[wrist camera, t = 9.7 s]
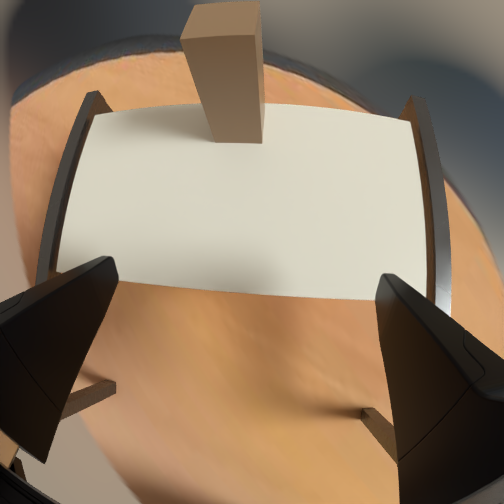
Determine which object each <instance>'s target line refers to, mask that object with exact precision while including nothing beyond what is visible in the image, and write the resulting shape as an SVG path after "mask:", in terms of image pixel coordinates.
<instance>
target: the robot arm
mask: <svg viewBox="0 0 504 504" xmlns="http://www.w3.org/2000/svg"><path fill="white" fill-rule="evenodd" d="M118 281H119V275H118V271H117V268H116V264H115V261H114V258H113V257H112V256H100V257H98V258H95V259H93V260H91V261H89V262H86V263H84V264H82V265H80V266H77V267H75V268H73V269H71V270H68V271H66V272H64V273H62V274H60V275H57V276H55V277H53V278H51V279H49V280H47V281H45V282H42V283H40V284H38V285H36V286H34V287H32V288H30V289H28V290H26V291H25V292H22V293H20V294H18V295H16V296H13V297H12V298H9V299H7V300H5V301H3V302H1V303H0V504H60V503H59V502H57V501H55V500H53V499H52V498H50V497H49V496H47V495H45V494H44V493H42V492H41V491H39V490H38V489H36V488H35V487H33V486H32V485H30V484H29V483H28V482H27V481H26V477H25V474H24V470H23V466H22V462H21V460H20V459H18V458H17V457H16V454H17V452H18V450H19V448H21V449H22V450H23V451H25V452H26V453H28V454H29V455H31V456H32V457H34V458H35V459H37V460H38V461H40V462H42V463H43V464H45V462H46V460H47V457H48V453H49V450H50V447H51V444H52V441H53V438H54V435H55V433H56V430H57V427H58V424H59V421H60V418H61V416H62V413H63V410H64V407H65V405H66V402H67V400H68V397H69V395H70V392H71V390H72V387H73V385H74V382H75V380H76V378H77V375H78V373H79V371H80V368H81V366H82V364H83V361H84V359H85V357H86V355H87V353H88V350H89V348H90V346H91V344H92V342H93V340H94V338H95V335H96V333H97V331H98V329H99V327H100V325H101V323H102V321H103V319H104V317H105V314H106V312H107V310H108V307H109V304H110V302H111V299H112V297H113V294H114V292H115V289H116V287H117V284H118ZM375 305H376V313H377V323H378V333H379V341H380V347H381V352H382V357H383V362H384V367H385V372H386V378H387V384H388V390H389V396H390V402H391V409H392V416H393V424H394V432H395V441H396V451H397V461H398V477H399V498H400V504H504V359H502V358H501V357H500V356H498V355H497V354H496V353H494V352H493V351H492V350H490V349H489V348H488V347H487V346H485V345H484V344H483V343H482V342H480V341H479V340H478V339H477V338H475V337H474V336H473V335H472V334H471V333H469V332H468V331H467V330H465V329H464V328H463V327H462V326H461V325H460V324H458V323H457V322H456V321H455V320H454V319H452V318H451V317H450V316H449V315H447V314H446V313H445V312H444V311H442V310H441V309H440V308H439V307H437V306H436V305H435V304H433V303H432V302H431V301H430V300H428V299H427V298H426V297H424V296H423V295H422V294H421V293H419V292H418V291H417V290H415V289H414V288H413V287H411V286H410V285H409V284H407V283H406V282H405V281H403V280H402V279H401V278H399V277H398V276H397V275H395V274H393V273H383V274H382V275H381V277H380V280H379V284H378V287H377V291H376V295H375Z"/></svg>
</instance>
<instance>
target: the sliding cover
mask: <svg viewBox="0 0 504 504" xmlns="http://www.w3.org/2000/svg"><path fill="white" fill-rule="evenodd" d="M180 42H181V45H182V48H183V51H184V54H185V56H186V59H187V62H188V65H189V68H190V71H191V74H192V77H193V80H194V83H195V86H196V89H197V92H198V95H199V97H200V100H201V104H182V105H169V106H157V107H148V108H139V109H131V110H124V111H117V112H111V113H105V114H99V115H95V117H94V119H93V122H92V125H91V127H90V130H89V133H88V136H87V139H86V142H85V145H84V148H83V151H82V154H81V157H80V161H79V164H78V167H77V171H76V174H75V178H74V182H73V186H72V189H71V193H70V198H69V202H68V206H67V211H66V215H65V220H64V225H63V230H62V236H61V242H60V248H59V254H58V261H57V269H56V272H60V273H64V272H66V271H68V270H71V269H73V268H75V267H77V266H80V265H82V264H84V263H86V262H89V261H91V260H93V259H95V258H98V257H100V256H112V257H113V258H114V261H115V264H116V268H117V271H118V275H119V281H125V282H134V283H142V284H151V285H160V286H169V287H179V288H189V289H199V290H210V291H221V292H233V293H245V294H258V295H272V296H288V297H304V298H323V299H345V300H372V301H375V295H376V291H377V287H378V284H379V280H380V277H381V275H382V274H383V273H393V274H395V275H397V276H398V277H399V278H401V279H402V280H403V281H405V282H406V283H407V284H409V285H410V286H411V287H413V288H414V289H415V290H417V291H418V292H419V293H421V294H422V295H423V296H424V297H426V280H427V267H426V235H425V220H424V208H423V198H422V189H421V181H420V173H419V167H418V160H417V154H416V148H415V143H414V138H413V133H412V128H411V123H410V122H409V121H404V120H399V119H394V118H389V117H384V116H379V115H373V114H367V113H361V112H355V111H348V110H340V109H332V108H323V107H314V106H302V105H289V104H270V103H265V93H264V72H263V52H262V36H261V17H260V2H259V1H243V2H223V3H211V4H200V5H195V6H194V8H193V10H192V12H191V15H190V17H189V19H188V21H187V23H186V26H185V28H184V30H183V33H182V35H181V38H180Z"/></svg>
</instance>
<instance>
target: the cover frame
mask: <svg viewBox="0 0 504 504" xmlns="http://www.w3.org/2000/svg"><path fill="white" fill-rule="evenodd" d="M111 112H113V111H112V109H111V108H110V107H109V106H108V104H107V103H106V102H105V99H104V97H103V96H102V95H101V93H100V92H99V91H98V90H97V91H93V92H88V93H87V94H86V96H85V98H84V100H83V103H82V105H81V107H80V110H79V112H78V115H77V117H76V120H75V122H74V125H73V127H72V130H71V133H70V135H69V138H68V141H67V144H66V147H65V150H64V153H63V156H62V159H61V162H60V165H59V168H58V172H57V175H56V179H55V182H54V186H53V190H52V193H51V197H50V202H49V206H48V210H47V215H46V219H45V224H44V229H43V235H42V240H41V246H40V252H39V259H38V267H37V275H36V284H35V286H36V285H38V284H40V283H42V282H45V281H47V280H49V279H51V278H53V277H55V276H57V275H60V274H61V273H60V272H56V269H57V261H58V254H59V248H60V242H61V236H62V230H63V225H64V220H65V215H66V211H67V206H68V202H69V198H70V193H71V189H72V186H73V182H74V178H75V174H76V171H77V167H78V164H79V161H80V157H81V154H82V151H83V148H84V145H85V142H86V139H87V136H88V133H89V130H90V127H91V125H92V122H93V119H94V117H95V115H99V114H105V113H111ZM398 119H399V120H404V121H409V122H410V123H411V128H412V133H413V138H414V143H415V148H416V154H417V160H418V167H419V173H420V181H421V189H422V198H423V208H424V220H425V235H426V267H427V280H426V298H427V299H428V300H430V301H431V302H432V303H433V304H435V305H436V306H437V307H439V308H440V309H441V310H442V311H444V312H445V313H446V314H447V315H449V316H450V313H451V247H450V231H449V219H448V210H447V201H446V193H445V186H444V180H443V174H442V168H441V163H440V158H439V152H438V148H437V143H436V139H435V134H434V130H433V126H432V122H431V119H430V115H429V111H428V107H427V104H426V101H425V99H424V98H421V97H417V96H413V95H411V96H410V98H409V100H408V101H407V103H406V105H405V108H404V110H403V111H402V113H401V115H400V116H399V118H398ZM115 393H116V382H112V381H109V380H104V381H102V382H99V383H97V384H94V385H92V386H89V387H86V388H84V389H81V390H79V391H76V392H73V393H70V395H69V397H68V400H67V402H66V405H65V407H64V410H63V413H62V416H61V418H60V420H62V419H64V418H66V417H69V416H71V415H73V414H75V413H77V412H79V411H81V410H83V409H85V408H87V407H89V406H91V405H94V404H96V403H98V402H100V401H102V400H104V399H106V398H108V397H110V396H112V395H113V394H115ZM361 421H362V422H363V423H364V425H365V426H366V427H367V428H368V429H369V431H370V432H371V433H372V434H373V436H374V437H375V438H376V439H377V441H378V442H379V443H380V444H381V445H382V447H383V448H384V449H385V450H386V452H387V453H388V454H389V455H390V456H391V458H392V459H393V460H394V461H395V462H396V464H397V467H398V461H397V451H396V441H395V432H394V426H393V425H392V424H391V423H390V422H388V421H387V420H386V419H385V418H384V417H383V416H382V415H381V414H380V413H379V412H378V411H377V410H376V409H375V408H364V409H362V415H361ZM59 422H60V421H59Z"/></svg>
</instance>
